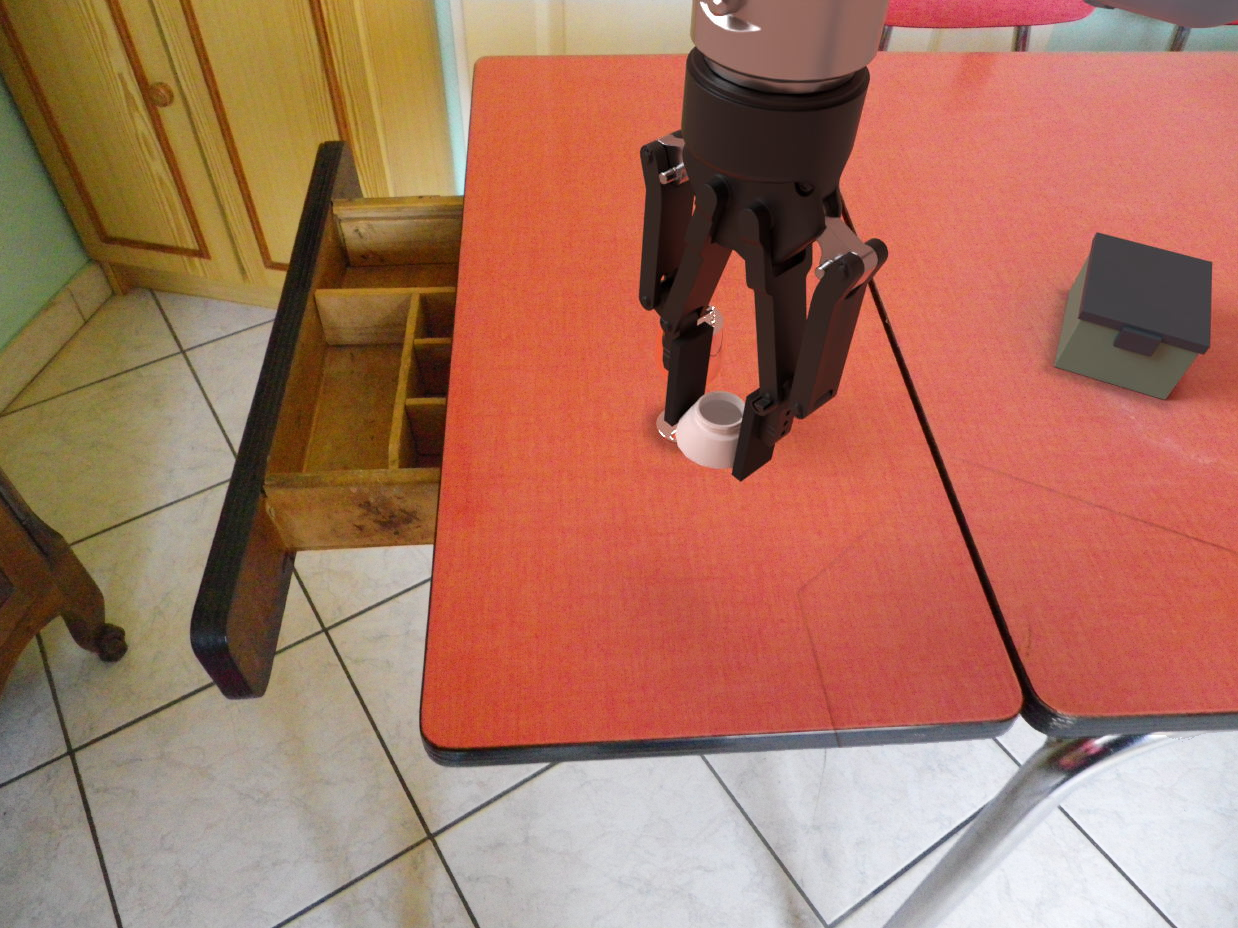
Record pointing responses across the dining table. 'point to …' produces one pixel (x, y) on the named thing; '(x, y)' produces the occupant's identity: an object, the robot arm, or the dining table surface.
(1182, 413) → the dining table surface
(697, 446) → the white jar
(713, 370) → the wineglass
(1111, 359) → the box
